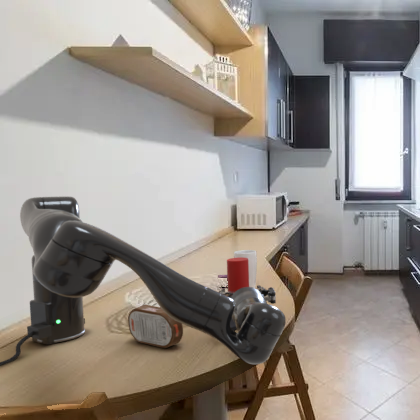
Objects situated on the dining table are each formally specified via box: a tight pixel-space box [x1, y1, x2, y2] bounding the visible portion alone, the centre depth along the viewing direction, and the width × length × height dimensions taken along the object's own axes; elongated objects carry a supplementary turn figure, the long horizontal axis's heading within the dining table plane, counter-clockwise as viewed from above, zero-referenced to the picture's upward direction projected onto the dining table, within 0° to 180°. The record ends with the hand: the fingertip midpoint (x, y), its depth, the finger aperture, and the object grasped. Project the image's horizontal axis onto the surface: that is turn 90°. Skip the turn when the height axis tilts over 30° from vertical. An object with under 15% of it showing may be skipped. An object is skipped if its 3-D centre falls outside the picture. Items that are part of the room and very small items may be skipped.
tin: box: [127, 304, 184, 349], centre depth 96 cm, size 15×3×8 cm, turn 65°
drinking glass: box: [233, 249, 258, 289], centre depth 132 cm, size 7×7×15 cm
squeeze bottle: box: [226, 257, 249, 292], centre depth 113 cm, size 5×5×15 cm
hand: (241, 291), depth 107 cm, fingers open, 8 cm apart
